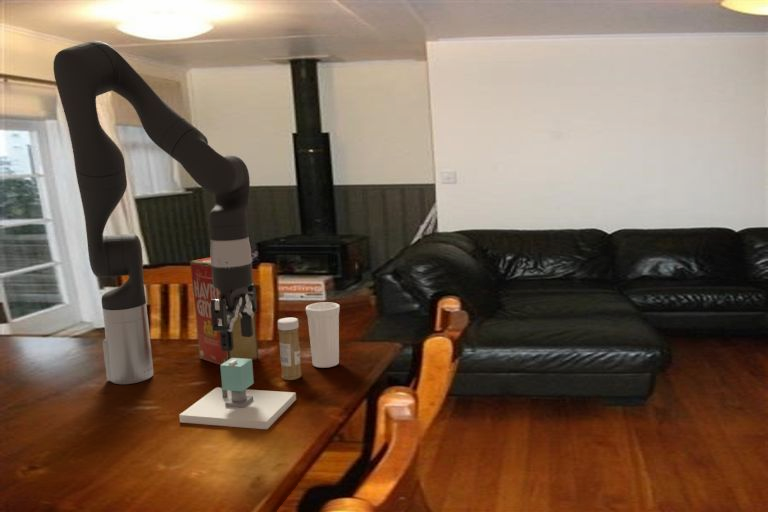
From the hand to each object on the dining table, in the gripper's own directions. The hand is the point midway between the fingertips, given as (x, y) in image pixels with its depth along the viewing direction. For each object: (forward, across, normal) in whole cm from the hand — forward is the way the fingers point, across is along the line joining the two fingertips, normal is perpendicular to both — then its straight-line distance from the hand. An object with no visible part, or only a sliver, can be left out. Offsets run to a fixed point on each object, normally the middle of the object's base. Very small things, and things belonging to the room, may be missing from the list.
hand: (238, 343), depth 121 cm
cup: (+14, +27, -8) cm, 31 cm away
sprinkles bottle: (+14, +18, -3) cm, 23 cm away
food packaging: (+14, +28, +18) cm, 36 cm away
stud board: (+14, -1, 0) cm, 14 cm away
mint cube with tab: (+9, -1, 0) cm, 9 cm away
